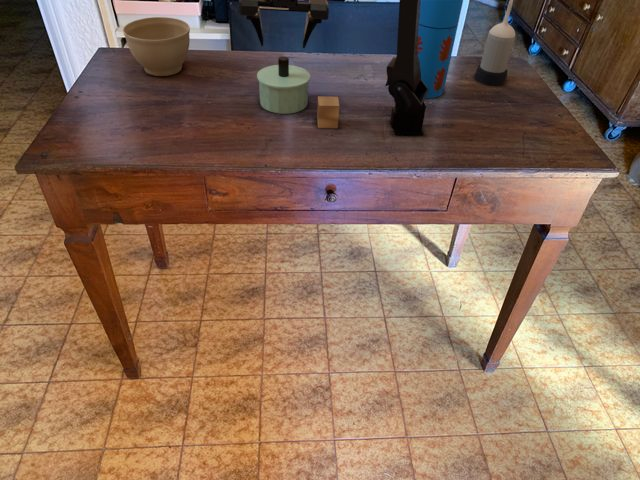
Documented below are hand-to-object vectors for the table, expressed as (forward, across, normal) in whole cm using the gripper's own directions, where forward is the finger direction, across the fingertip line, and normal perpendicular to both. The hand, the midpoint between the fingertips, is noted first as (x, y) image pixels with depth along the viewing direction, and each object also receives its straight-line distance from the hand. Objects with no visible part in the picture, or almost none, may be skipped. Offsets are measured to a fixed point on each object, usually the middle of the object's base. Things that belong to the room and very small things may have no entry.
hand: (283, 46), depth 113 cm
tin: (+14, -1, 0) cm, 14 cm away
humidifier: (+12, -57, -15) cm, 60 cm away
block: (+13, -10, +10) cm, 20 cm away
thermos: (+13, -37, -8) cm, 40 cm away
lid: (+7, 0, 0) cm, 7 cm away
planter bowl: (+15, +31, -19) cm, 39 cm away
